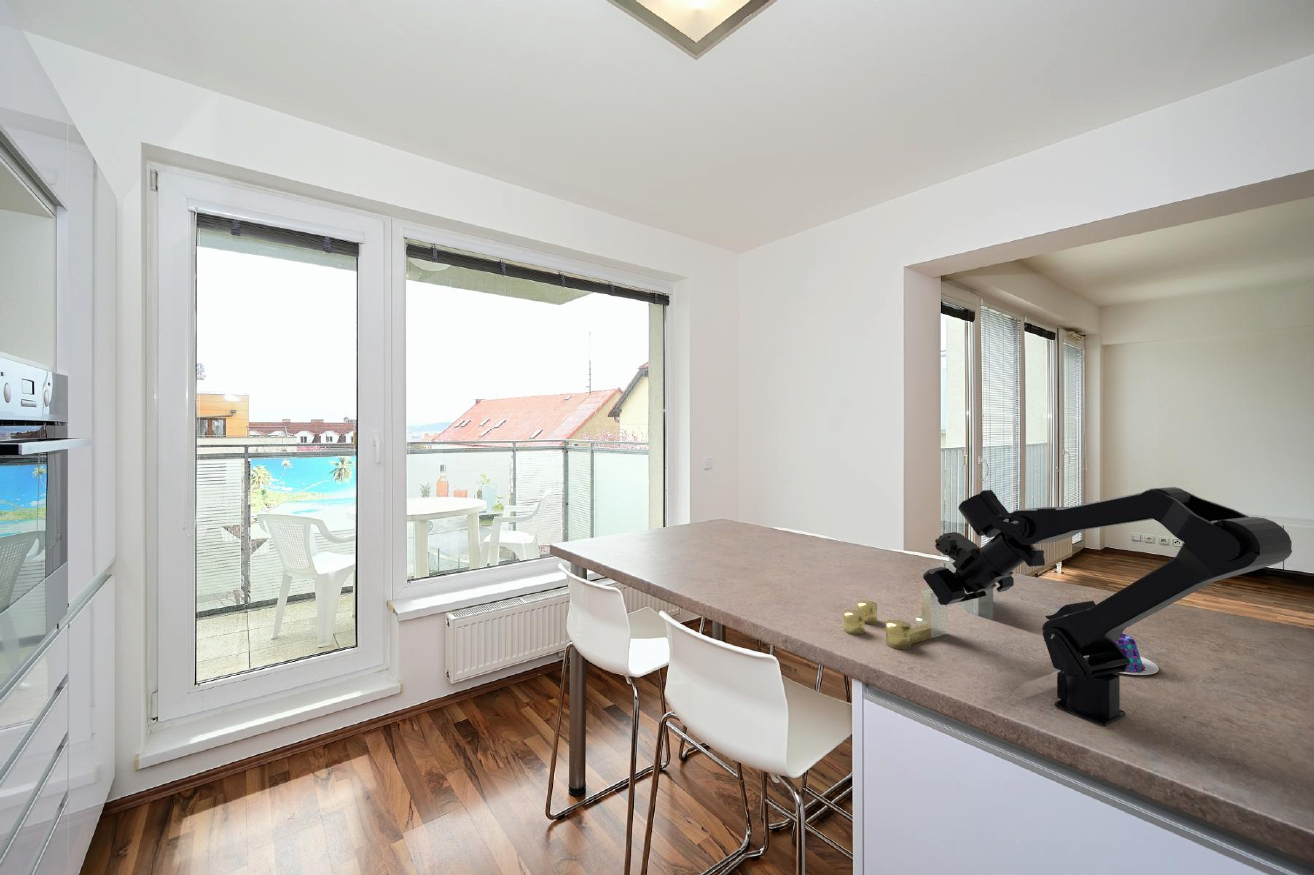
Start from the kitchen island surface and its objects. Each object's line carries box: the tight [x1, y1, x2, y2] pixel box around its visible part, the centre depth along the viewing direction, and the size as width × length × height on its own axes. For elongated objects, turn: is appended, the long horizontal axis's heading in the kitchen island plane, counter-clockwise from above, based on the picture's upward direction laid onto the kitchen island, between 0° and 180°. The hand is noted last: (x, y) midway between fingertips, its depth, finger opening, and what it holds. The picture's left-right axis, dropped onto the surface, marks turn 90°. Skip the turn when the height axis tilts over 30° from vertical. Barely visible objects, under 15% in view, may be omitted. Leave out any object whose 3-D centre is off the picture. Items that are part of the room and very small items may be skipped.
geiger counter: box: [943, 556, 994, 622], centre depth 130 cm, size 14×6×25 cm
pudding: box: [1116, 632, 1160, 676], centre depth 97 cm, size 12×12×5 cm
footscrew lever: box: [885, 587, 949, 650], centre depth 105 cm, size 15×4×9 cm, turn 116°
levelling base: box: [843, 600, 922, 636], centre depth 108 cm, size 22×22×5 cm
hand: (940, 602), depth 104 cm, fingers closed
